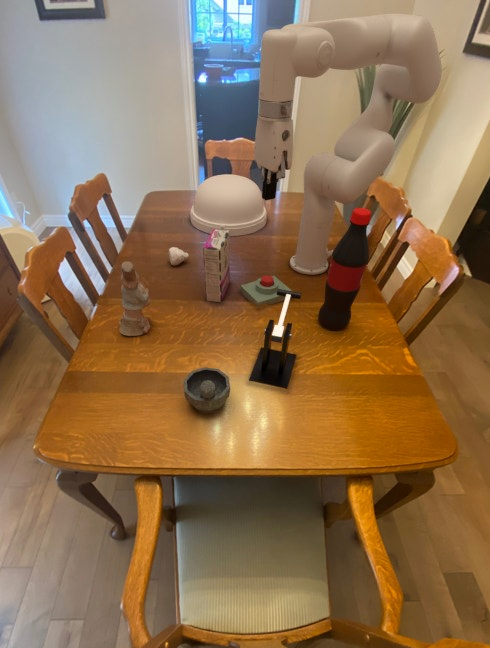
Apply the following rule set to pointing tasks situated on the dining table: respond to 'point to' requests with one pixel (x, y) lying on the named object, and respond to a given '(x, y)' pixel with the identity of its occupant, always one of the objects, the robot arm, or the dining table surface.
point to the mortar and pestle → (206, 389)
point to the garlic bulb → (177, 256)
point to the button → (267, 281)
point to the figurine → (133, 302)
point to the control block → (263, 292)
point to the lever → (283, 314)
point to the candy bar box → (216, 265)
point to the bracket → (274, 360)
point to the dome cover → (228, 205)
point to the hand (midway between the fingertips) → (268, 198)
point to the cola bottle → (346, 273)
